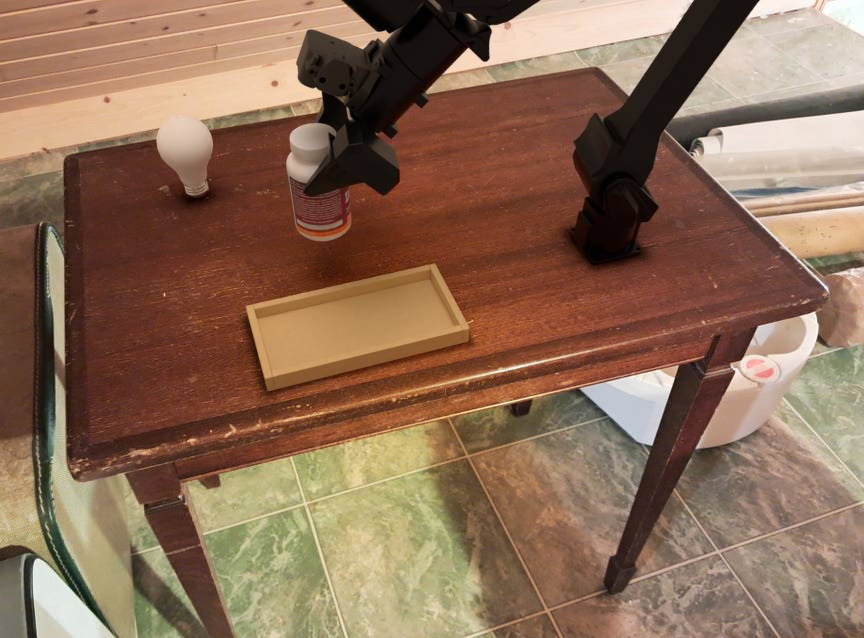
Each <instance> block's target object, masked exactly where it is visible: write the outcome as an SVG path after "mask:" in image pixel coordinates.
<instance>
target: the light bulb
mask: <svg viewBox="0 0 864 638" xmlns="http://www.w3.org/2000/svg"><path fill="white" fill-rule="evenodd" d="M213 140H214V139H213V136H212V134H211V131H210V130H209V128H208V127H207V126H206V125H205V123H204V122H202V121H201V120H199V119H198V118H197V117H195V116H191V115H189V114H177V115H173V116H171V117H169V118H168V119H166V120H165V121H164V122H163V123H162V124H161V126H160V127H159V129H158V131H157V135H156V148H157V151H158V154H159V155H160V158H161V159H162V161H163V162H164V163H166V165H167V166H169V167H170V168H171V169H172V170H173V171H174V172H176V175H178V178H179V180H180V181H181V183H182V184H183V187H184V191H185V193H186V194H187V196H188V197H190V198H194V199H195V198H202V197H204V196H205V195H206V194H207V193H208V192H209V189H210V187H209V184H208V181H207V178H208V171H207V168H208V164H209V161H210V160H211V157H212V155H213V151H214V141H213Z"/></svg>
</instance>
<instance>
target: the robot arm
mask: <svg viewBox="0 0 864 638" xmlns="http://www.w3.org/2000/svg"><path fill="white" fill-rule="evenodd" d="M340 1H341V2H343V4H344V5H346V6H347V7H348V8H349V9H350V10H351V11H352V12H353V13H355V14H356V15H357V16H358V17H359V18H360V19H362V20H363V21H364V22H365V23H366V24H367V25H368V26H369V27H371V28H372V29H373V30H374V31H375V32H377V33H383V32H386V33H388V34H389V35H390V36H389V37H388V38H387V39H386V40H385V41H384V42H383V41H382V40H381V39H380V38H379V37H377V38H376V39H375V40H374V39H372V40H370V41H369V42H368V44H367V45H366V46H365V47H364V48H361V47H358V46H357V45H354V44H353V43H350V42H349V41H346V40H344V39H343V38H339V37H336V36H333V35H330V34H327V33H326V32H322V31H319V30H317V29H307V30H306V32H305V34H304V38H303V41H302V44H301V47H300V50H299V52H298V55H297V59H296V60H295V61H296V62H295V65H296V66H297V76H296V77H297V81H298V82H299V83H300V84H301V85H303V86H304V87H307V88H309V89H312V90H313V89H316V90H318V91H320V92H321V101H322V102H321V106H320V108H319V111H318V113H317V115H316V117H315V120H314V121H313V123H321V124H326V125H329V126H331V127H332V128H333V129H334V130H335V131H336V133H337V135H336V137H335V136H334V135H332V134H331V133H330V132H328V143H329V153H328V154H327V156H326V157H325V158H324V160H323V161H322V162H321V164H320V165H319V167H318V168H317V169H316V171H315V172H314V174H313V175H312V176H311V178H310V179H309V181H308V182H307V184H306V185H305V187H304V189H303V193H304V194H305V195H307V196H309V197H315V196H318V195H321V194H324V193H327V192H331V191H334V190H337V189H340V188H344V187H347V186H349V187H351V186H357V185H360V184H365V185H367V186H368V187H369V188H371V189H372V190H374V191H375V192H376V193H378V194H379V195H381V196H383V197H384V196H387V195H389V194H390V192H391V191H392V190H393V189H395V188H396V186H398V185H399V184H400V182H401V170H400V165H399V161H398V157H397V153H396V149H395V148H394V147H393V146H391V145H390V144H388V143H387V141H385V140H384V139H382V138H381V137H380V136H378V134H380V133H382V134H383V135H385V136H386V137H387V138H389V139H390V140H392V139H393V138H394V137H395V136H396V135H397V134H398V133H399V129H398V125H397V123H398V121H399V120H400V119H401V118H402V117H403V116H404V115H405V114H406V113H407V112H408V111H409V110H410V109H411V108H412V106H413V105H416V106H417V107H418V108H420V109H423V108H424V107H425V106H426V105H427V104H428V103H429V102H430V100H429V96H428V94H427V91H428V90H429V89H430V88H431V87H432V86H433V85H434V84H435V83H436V82H437V81H438V80H439V79H440V78H441V77H442V76H443V75H444V74H445V73H446V72H447V70H449V68H451V66H453V64H455V62H457V60H459V58H460V57H461V56H462V55H463V54H464V53H465V52H466V51H467V50H468V49H469V50H470V51H471V52H472V53H473V54H474V55H475V56H477V58H479V59H480V60H481V61H482V62H484V63H487V62H488V61H489V60H490V58H491V55H490V42H491V37H492V34H493V29H492V26H499V25H502V24H505V23H508V22H510V21H512V20H514V19H515V18H516V17H518V16H520V15H521V14H523V13H524V12H526V11H527V10H528V9H530V8H532V7H533V6H534V5H536V4H537V3H539V2H540V1H541V0H340ZM759 2H761V0H693V1H692V2H691V3H690V5H689V7H688V8H687V9H686V11H685V12H684V14H683V15H682V17H681V18H680V20H679V21H678V22H677V24H676V26H675V27H674V28H673V30H672V31H671V33H670V35H669V36H668V38H667V39H666V41H665V42H664V43H663V44H662V47H661V48H660V49H659V51H658V53H657V54H656V55H655V57H654V59H653V60H652V62H651V63H650V64H649V66H648V67H647V69H646V71H645V72H644V74H643V75H642V76H641V78H640V79H639V81H638V82H637V84H636V85H635V87H634V89H633V90H632V91H631V92H630V95H629V96H628V97H627V98H626V100H625V102H624V103H623V104H622V106H621V107H620V108H618V109H616V110H614V111H613V112H611V113H609V114H607V115H606V116H603V115H601V114H600V113H598V112H594V113H593V114H591V116H590V118H589V120H588V122H587V124H586V126H585V128H584V130H583V131H582V132H581V133H580V135H579V136H578V137H576V139H574V140H573V142H572V143H573V144H574V147H575V148H574V150H573V153H572V162H573V166H574V168H575V169H574V170H575V172H576V173H577V175H578V177H579V179H580V181H581V183H582V185H583V187H584V189H585V190H586V192H587V195H588V196H585V197H584V199H583V205H582V209H581V210H579V211H578V214H577V218H576V221H575V226H572V227H570V228H569V231H568V234H569V235H570V237H571V238H572V240H573V241H574V242H575V244H576V245H577V247H578V248H579V250H581V252H582V253H583V254H584V256H585V257H586V258H587V259H588V261H589V262H590V263H591V265H600V264H605V263H608V262H612V261H616V260H621V259H625V258H629V257H633V256H638V255H641V254H642V252H643V248H642V247H641V245H640V244H639V242H637V238H638V235H639V232H640V229H641V227H642V226H641V225H642V223H649V222H650V221H651V219H652V218H653V217H654V215H655V214H656V213H657V212H658V210H659V209H660V206H659V204H658V202H657V201H656V199H655V198H654V196H653V194H652V193H651V191H650V189H649V188H648V185H647V184H646V182H647V180H648V179H649V177H650V176H651V174H652V171H653V170H654V167H655V164H656V161H657V160H656V159H657V155H658V149H659V145H660V141H661V138H662V135H663V133H664V132H665V130H666V129H667V128H668V126H669V125H670V123H672V120H673V119H675V117H676V115H677V114H678V112H679V111H680V110H681V108H683V105H685V104H686V101H687V100H688V99H689V98H690V96H692V94H693V92H694V90H695V89H696V88H697V87H698V86H699V84H700V83H701V81H702V80H703V78H704V77H705V76H706V74H707V73H708V71H709V70H710V69H711V67H712V66H713V65H714V63H716V61H717V59H718V58H719V56H720V55H721V54H722V53H723V51H724V50H725V49H726V47H727V46H728V44H729V43H730V42H731V40H732V39H733V38H734V36H735V35H736V33H737V32H738V31H739V29H740V28H741V26H742V25H743V24H744V23H745V21H747V18H748V17H749V16H750V15H751V13H752V12H753V10H754V9H755V8H756V6H757V5H758V3H759ZM469 15H470V16H472V17H473V18H472V17H470V16H469Z"/></svg>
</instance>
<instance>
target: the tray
mask: <svg viewBox="0 0 864 638" xmlns="http://www.w3.org/2000/svg"><path fill="white" fill-rule="evenodd" d="M245 310H246V314H247V318H248V322H249V325H250V330H251V334H252V338H253V341H254V345H255V349H256V352H257V356H258V360H259V365H260V368H261V371H262V376H263V379H264V383H265V387H266V390H267V392H272V391H275V390H276V391H277V390H280V389H283V388H287V387H291V386H295V385H300V384H304V383H307V382H312V381H315V380H319V379H323V378H328V377H332V376H336V375H341V374H344V373H348V372H352V371H356V370H360V369H364V368H368V367H372V366H377V365H380V364H384V363H389V362H392V361H396V360H400V359H404V358H405V359H406V358H408V357H412V356H417V355H421V354H424V353H429V352H432V351H436V350H440V349H445V348H449V347H452V346H457V345H461V344H465V343H468V342H469V340H470V338H469V337H470V331H471V330H470V329H471V328H470V325H469V324H468V323H467V320H466V318H465V317H464V315H463V313H462V311H461V309H460V307H459V306H458V304H457V302H456V300H455V298H454V296H453V294H452V292H451V290H450V288H449V287H448V285H447V282H446V281H445V279H444V277H443V275H442V273H441V272H440V270H439V268H438V266H437V264H436V263H431V264H426V265H422V266H416V267H411V268H408V269H403V270H400V271H394V272H391V273H386V274H381V275H376V276H373V277H368V278H364V279H360V280H355V281H350V282H346V283H342V284H337V285H332V286H328V287H323V288H320V289H314V290H310V291H306V292H302V293H298V294H293V295H288V296H283V297H279V298H275V299H270V300H266V301H261V302H257V303H253V304H248V305H245Z"/></svg>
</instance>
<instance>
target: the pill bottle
mask: <svg viewBox="0 0 864 638" xmlns="http://www.w3.org/2000/svg"><path fill="white" fill-rule="evenodd" d="M328 132H330V133H331V134H332V135H334V136H335V137H336V135H337V133H336V131H335V130H334V129H333V128H332V127H331V126H329V125H326V124H321V123H314V122H312V123H311V122H310V123H306V124H305V123H304V124H301V125H299V126H298V127H296V128H295V129H293V130H292V131H291V132H290V134H289V148H290V152H289V154H288V156H287V158H286V162H285V165H286V174H287V175H286V176H287V180H288V187H289V192H290V200H291V206H292V212H293V219H294V224H295V228H296V231H297V232H298V233H299V234H300V235H301V236H303V237H304V238H306V239H309V240H312V241H314V242H329V241H333V240H336V239H338V238H340V237H341V236H343V235H344V234H346V233H347V232H348V231H349V229H350V228H351V225H352V208H351V197H350V186H347V187H344V188H340V189H337V190H334V191H331V192H327V193H324V194H321V195H318V196H315V197H309V196H307V195H305V194H304V193H303V189H304V187H305V185H306V184H307V182H308V181H309V179H310V178H311V176H312V175H313V174H314V172H315V171H316V169H317V168H318V167H319V165H320V164H321V162H322V161H323V160H324V158H325V157H326V156H327V154H328V153H329V143H328Z"/></svg>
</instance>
